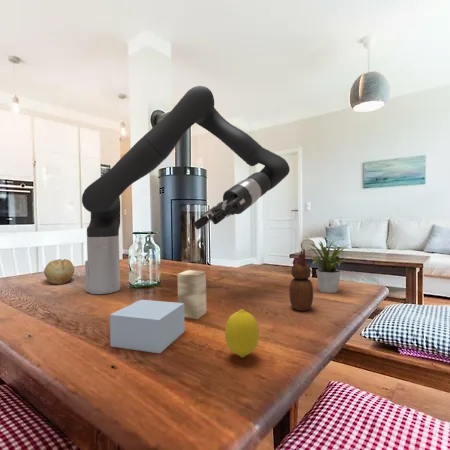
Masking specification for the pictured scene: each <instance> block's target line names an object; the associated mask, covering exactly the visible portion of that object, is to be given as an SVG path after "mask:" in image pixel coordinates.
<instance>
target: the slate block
mask: <svg viewBox="0 0 450 450" xmlns="http://www.w3.org/2000/svg"><path fill="white" fill-rule="evenodd" d="M109 330H110V331H109V333H110V334H109V335H110V341H109V342H110V347H112V348H121V349H126V350H133V351H141V352H147V353H153V354H155V353H156V354H161V353H162V352H163V351H165V350H166V349H167V348H168V347H169V346H170V345H172V343H173V342H174V341H176V340H177V339H178V338H179V337H180V336H181V335H183V334H184V332H185V318H184V303H178V302H176V301H175V302H173V301H171V302H170V301H162V300H150V299H149V300H148V299H140V300H137V301H135V302H133V303H131V304H129V305H128V306H125V307H123V308H121V309H119V310H117V311H115V312H113V313H111V314H109Z"/></svg>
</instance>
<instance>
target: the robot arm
mask: <svg viewBox="0 0 450 450" xmlns="http://www.w3.org/2000/svg"><path fill="white" fill-rule="evenodd" d="M194 124H197V126H200V127H202V129H205V131H208V132H209V133H210V134H212V135H213V136H214V137H216V138H218V140H219V141H221V142H222V143H223V144H224V145H226V147H228V148H229V149H230V151H233V152H234V153H235V155H237V156H238V157H239V158H240V159H241V160H242V161H244V162H245V163H246V164H247V165H248V166H249V167H254V166H256V165H259V164H261V165H262V166H264V167H263V168H262V169H261V170H260V171H257V172H256V171H255V172H254V173H252V174H250V175H249V176H248V177H246V178H244V179H243V180H241V181H239V182H238V183H236V184H234V185H233V186H231V187H230V188H228V189H227V190H225V191H224V192H223V195H222V201H220V202H218V203H217V204H216V205H215V206H212V207H211V208H209V209H208V210H207V211H205V212H204V213H202V214H201V215H200V218H199V219H196V221H194V222H193V225H194V227H195V229H196V230H200V229H202V228H203V227H204V226H205V225H207V224H209V223H211V222H212V224H214V225H217V224H219V223H220V222H222V221H223V220H224V219H226V218H229V217H230V216H234V215H240V214H242V213H244V212H245V211H246V210H248V209H249V208H250V207H251V206H252V205H254V204H255V203H256V202H257V201H258V200H259V199H260V198H261V197H263V196H264V195H265V194H266V193H267V192H269V191H270V190H272V189H273V188H275V187H277V185H279V183H280V182H282V180H284V179H285V178H286V177H287V176H288V175H289V173H290V170H291V169H290V165H289V163H288V162H287V160H286V159H285V158H284V157H282V156H281V155H278V154H276V153H275V152H272V151H270V150H269V149H267V148H265V147H263V146H262V145H261V144H260V143H259V142H258V141H256V140H255V139H254V138H253V137H252V136H250V135H249V134H248V133H247V132H246V131H244V130H242V129H241V128H238V127H237V126H235V125H233V124H231V123H230V122H229V121H227V120H226V119H225V118H224V117H223V116H222V115H221V113H220V112H219V111H218V110H217V109H216V107H215V98H214V94H213V92H212V91H211V89H210V88H208V87H207V86H203V85H197V86H194V87H192V88H190V89H188V90H187V91H186V92H185V93H184V95H183V96H182V97H181V98H180V99H179V101H178V102H177V103H176V104H175V106H174V107H173V108H172V109H171V110H170V111H169V112H168V113H167V115H165V116H164V117H163V118H162V119H161V120H160V121H158V122H157V123H156V124H155V125H154V126H153V127H152V128H151V129H150V130H149V131H147V132H146V133H145V134H144V135H143V136H142V137H141V138H140V139H139V140H138V141H137V142H136V143H134V145H133V146H132V147H130V149H129V150H128V151H126V152H125V154H124V155H123V156H122V157H121V158H120V159H119V160H118V161H117V162H116V163H115V164H114V165H113V166H112V167H111V168H109V170H108V171H106V172H105V173H103V174H102V175H101V176H99V178H97V179H95V181H93V182H92V183H91V184H89V185H87V187H86V188H85V189H84V191H83V193H82V196H81V203H82V206H83V207H84V209H85V210H86V211H87V212H89V213H90V222H89V223H88V226H87V228H86V246H87V247H86V249H87V252H86V253H87V255H86V256H87V260H85V262H84V273H85V275H84V278H85V292H87V293H89V294H91V295H107V294H112V293H116V292H119V291H120V290H121V280H120V279H121V277H120V276H121V275H120V274H121V273H120V271H121V270H120V269H121V267H120V238H119V237H120V233H119V231H120V227H121V197H120V196H121V195H122V194H123V193H124V192H125V190H127V189H128V188H129V187H130V186H131V185H132V184H134V183H135V182H137V181H138V180H140V179H143V177H145V176H148V175H149V174H150V173H152V172H153V171H154V170H155V169H156V168H157V167H158V166H160V165H161V163H162V162H164V161H165V160H166V159H167V158H168V157H169V156H170V154H171V153H172V152H173V150H174V149H175V147H176V146H177V145H178V144H179V142H180V140H181V138H182V137H183V136H184V135H185V133H186V132H187V131H188V130H189V129H190V128H191V127H192V126H193V125H194Z"/></svg>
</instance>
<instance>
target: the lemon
mask: <svg viewBox="0 0 450 450" xmlns="http://www.w3.org/2000/svg"><path fill="white" fill-rule="evenodd" d="M224 331H225V332H224V334H225V338H224V339H225V342H226V346H227V347H228V349H229V350H230V351H231V352H232V353H234V355H238V356H239V358H242V359H243V358H245V357H246V356H247V355H249V354H252V353H253V352H254V351H255V349H256V348H257V347H258V343H259V338H260V337H259V336H260V330H259V325H258V321H257V320H256V318H255V316H254V315H252V313H249V311H245V310H244V309H243V308H242V309H241V308H240V309H239V310H238V311H236V312H234V313H232V314H231V315H230V316H229V318H228V319H227V322H226V325H225V330H224Z"/></svg>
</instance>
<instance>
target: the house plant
mask: <svg viewBox="0 0 450 450" xmlns="http://www.w3.org/2000/svg"><path fill="white" fill-rule="evenodd" d="M332 238H333V237H332ZM332 238H331V239H330V240H329V243H328V247H327V246H324V243H323V242H322V241H321V240H319V242H318V244H319V246H320V249H319V248H318V247H317V246H316V245H315V244H314V243H313V242H310V241H309V245H311V246H312V247H313V248H312V247H309V246H307V247H306V248H307V249H310V250H312V251H313V252H314V253H315V255H316V256H313V257H310V259H311V260H313V261H312V264H311V265H313V264H315V263H316V264H317V265H318V266H319V267H320V268H317V269H316V270H315V272H316V277H317V284H318V290H319V292H322V293H326V294H335V293H337V292H338V289H339V284H340V278H341V273H342V272H341V269H340V270H339V269H337V268H338V267H340V265H341V264H342V263H344V262H348V261H347V260H345V259H346V257H340V256H339V255H340V253H341V252H342V251H343V250H344V249H345V248H347V247H348V246H350V245H351V243H349V244H347V245H345V246H344V245H342V246H339V247H338V246H337V244H335V245H334V248H333V249H332V250H333V251H332V253H331V255H330V249H331V246H332V244H333V243H334V241H332ZM331 241H332V242H331ZM305 242H307V243H308V241H306V240H305ZM337 247H338V248H337ZM306 248H305V249H306ZM314 248H315V250H314ZM321 251H322V252H321ZM317 252H318V253H317ZM318 254H319V255H320V256H319V255H318ZM321 259H322V260H321ZM341 260H343V261H341ZM336 264H337V265H336Z"/></svg>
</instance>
